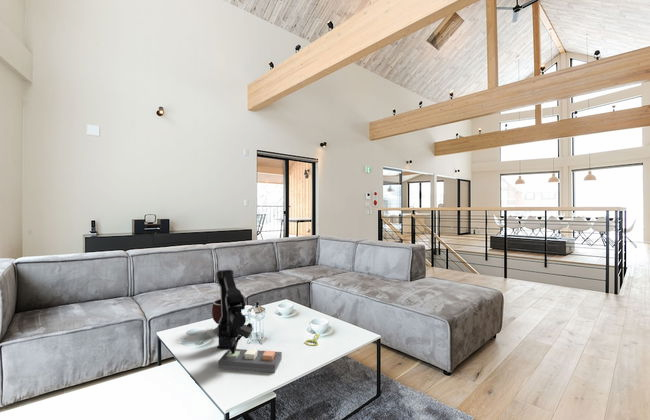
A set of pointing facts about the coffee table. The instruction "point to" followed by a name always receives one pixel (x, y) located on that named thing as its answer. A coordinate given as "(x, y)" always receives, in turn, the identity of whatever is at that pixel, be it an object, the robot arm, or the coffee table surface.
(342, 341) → the coffee table surface
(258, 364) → the grey flat rectangular block
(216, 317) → the mate gourd
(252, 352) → the ivory keycap
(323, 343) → the coffee table surface
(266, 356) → the terracotta keycap
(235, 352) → the sage keycap
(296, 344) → the coffee table surface
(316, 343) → the key
